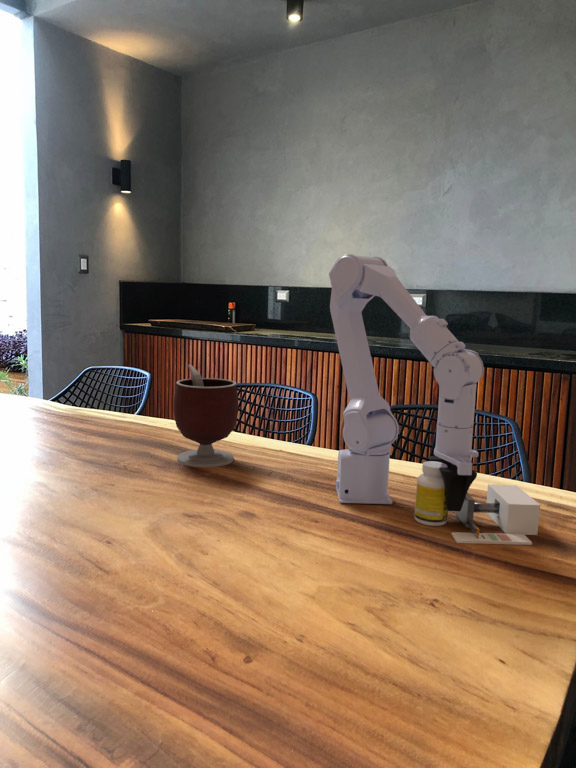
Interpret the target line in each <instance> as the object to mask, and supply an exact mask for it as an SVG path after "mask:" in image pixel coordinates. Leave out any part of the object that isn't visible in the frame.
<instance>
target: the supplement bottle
mask: <svg viewBox="0 0 576 768" xmlns="http://www.w3.org/2000/svg"><path fill="white" fill-rule="evenodd" d="M440 467H444V468H447V465H446V464H444V463H441V462H436V461H430V460H429V461H423V462H422V468H421V469H422V470H421V471H422V474H420V475H418V477H417V479H416V490H415V491H416V492H415V500H414V501H415V503H414V514H413V516H414V520H415V521H416V522H418V523H419V524H421V525H424V526H429V527H430V526H431V527H439V526H444V525H445V524H447V521H448V516H449V515H448V513H449V511H448V510H447V507H446V498H445V486H444V481H443V478H442V475H441V472H440V470H439V468H440Z"/></svg>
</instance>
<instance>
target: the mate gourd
mask: <svg viewBox="0 0 576 768" xmlns="http://www.w3.org/2000/svg"><path fill="white" fill-rule="evenodd" d="M187 368H188V369H189V371H190V375H191V376H190V377H191V378H185V379H180V380H177V381H176V382H175V383H176V386H175V390H174V396H173V414H174V415H173V417H174V422H175V424H176V426H175V427H176V428H177V429H178V431H179V432H180V433H181V436H183V437H184V438H186V439H188V440H190V441H193V442H195V443H197V444H199V446H198V448H197V449H191V450H186V451H184V452H183V451H182V452H181V453H179V454H177V457H176V460H177V462H178V463H179V464H180V465H184V466H186V467H187V466H188V467H194V468H215V467H218V468H219V467H223V466H224V467H225V466H226V465H229V464H231V463H233V462H234V455H233V454H232V453H231V452H228V451H225V450H219V449H214V447H213V445H212V444H214V443H216V442H219V441H222V440H223V439H226V438H228V437H229V436H230V434H232V431H234V429H235V428H236V425H237V422H238V421H237V420H238V414H239V395H238V394H239V393H238V388H237V381H235V380H234V381H233V380H231V379H230V380H229V379H226V378H225V379H224V378H215V377H213V378H212V377H211V378H210V377H209V378H208V377H204V378H203V377H202V375H201V373H200V372H199V371H198V370H197V369H196V368H195V367H194V366H193V365H192V364H188V365H187Z"/></svg>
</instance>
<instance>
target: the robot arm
mask: <svg viewBox="0 0 576 768" xmlns="http://www.w3.org/2000/svg"><path fill="white" fill-rule="evenodd" d="M328 276H329V281H330V286H331V294H330V303H329V310H330V315H331V320H332V321H331V322H332V324H333V329H334V330H333V331H334V333H335V338H336V343H337V348H338V353H339V357H340V363H341V367H342V370H343V371H342V372H343V376H344V379H345V380H344V381H345V385H346V389H347V395H348V398H349V399H348V400H349V402H348V404H347V406H346V407H345V409H344V411H343V412H342V416H343V429H342V438H343V441H344V443H345V445H346V446H347V447H348V448H347V449H340V450H339V451H338V456H337V467H336V469H337V471H336V480H335V490H336V494H337V497H338V500H339V503H341V504H369V505H370V504H373V505H392V504H393V499H392V497H391V496H390V494H389V492H388V491H389V490H388V489H389V475H390V474H389V472H390V457H391V456H390V455H391V450H392V443H394V442H395V441H396V440H397V438H398V435H399V430H400V427H399V422H398V421H397V419H396V417H395V416H394V415H393V413H392V410H391V407H390V404H389V402H388V401H387V400H386V399H384V398H383V396H381V394H380V391H379V387H378V386H379V385H378V382H377V378H376V377H377V376H376V374H375V369H374V365H373V364H374V363H373V359H372V355H371V350H370V345H369V342H368V337H367V332H366V328H365V327H366V326H365V324H364V318H363V314H362V313H363V310H364V308H365V307H366V305H367V304H368V303H369V302H370V301H371V300H373V298H374V297H379V298H380V299H381V300H383V302H384V303H386V304H387V305H388V307H390V308H391V310H392V311H393V312H394V313H395V314H396V315H397V316H398V317H399V318H400V319H401V320H402V321H403V322H404V323H405V324H406V325H407V327H409V339H410V341H411V342H412V343H413V345H414V346H415V347H416V348H417V349H418V351H420V353H421V354H422V355H423V356H424V358H425V359H426V360H427V361H428V362H429V363H430V365H431V366H432V367H433V376H434V380H435V382H436V383H437V384H438V395H439V396H438V407H437V409H438V410H437V420H436V421H437V423H436V436H435V447H434V449H433V454H434V455H431V456H428V459H429V461H436V462H441V463H444V464H446V465H447V468H444V467H440V468H439V470H440V472H441V475H442V478H443V481H444V486H445V498H446V507H447V510H448V512H454V511H461V509H462V506H463V503H464V500H465V497H466V494H467V492H469V489H470V487H471V485H472V484H473V482H474V481H475V480H476V478H477V476H478V473H477V471H475V469H474V470H473V462H472V458H478V457H479V452H478V451H477V450H474V449H472V446H473V434H474V424H475V423H474V421H475V412H476V411H475V409H476V408H475V407H476V396H477V395H476V393H477V383H478V382H479V381H480V380H481V379H482V377H483V375H484V371H485V368H484V363H483V360H482V358H481V357H480V355H479V353H478V352H476V350H475V351H474V350H471V349H467V348H466V344H465V343H464V342H463V341H459V340H458V339H457V338H456V337H455V335H454V334H453V333H452V332H451V331H450V330H449V329H448V327H447V326H448V324H449V323H448V321H446V319H444V318H439V317H438V316H437V315H427V314H426V313H425V312H424V310H423V309H422V307H420V305H419V304H418V302H416V301H417V300H415V298H414V297H413V296H412V295H411V293H410V292H409V291H408V289H407V288H406V287H405V286H404V285H403V283H402V282H401V280H400V279H399V278H398V276H397V273H396V270H395V269H394V268H392V266H389V265H388V263H387V261H386V260H385V259H383V258H382V257H380V256H362V255H355V254H352V253H345V254H342V255H340V256H339V257H338V258H337V260H336V261H335V262H334V264H333V265H332V268H331V269H330V271H329V273H328Z"/></svg>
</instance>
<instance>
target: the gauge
mask: <svg viewBox="0 0 576 768" xmlns="http://www.w3.org/2000/svg"><path fill="white" fill-rule="evenodd" d="M486 493H487V494H486V502H485V503H500V508H499V513H486V514H487V515H488V516H489V517H490V518H491V520H492V521H494V522H495V524H496V525H497V526H498V527H499V528H500V529H501V530H502V532H503V533H495V532H494V533H493V532H492V533H490V532H489V533H488V532H479V536H477V535H476V534H475V533H474V532H460V531H459V532H456V531H452V532H451V536H452V538H453V539H454V541H455V542H456V543H457V544H478V545H479V544H480V545H481V544H483V545H485V544H487V545H517V546H518V545H520V546H521V545H522V546H523V545H524V546H525V545H527V546H532V545H533V542H532V541H531V540H530V539H529V537H527V536H528V535H529V536H538V531H539V530H538V529H539V522H540V521H539V520H540V513H541V512H540V511H541V504H540V503H539V502H538V501H536V500H535V499H534V498H532V496H530V495H529V494H528V493H527V492H526V491H524V490H523V489H522V488H521V487H519V486H518V485H517V484H487V491H486Z"/></svg>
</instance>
